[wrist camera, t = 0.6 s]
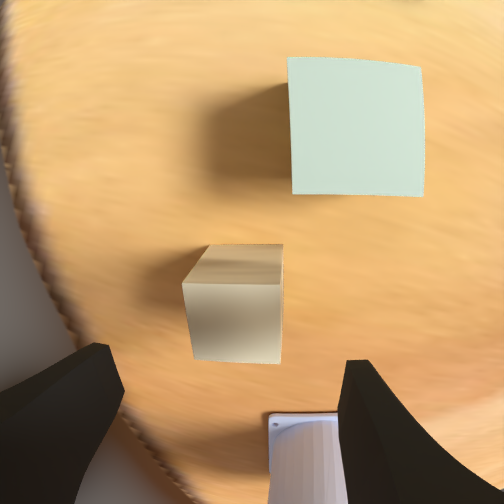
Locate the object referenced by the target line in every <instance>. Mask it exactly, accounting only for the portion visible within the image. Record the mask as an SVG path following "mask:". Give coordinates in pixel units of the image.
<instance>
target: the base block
mask: <svg viewBox="0 0 504 504" xmlns="http://www.w3.org/2000/svg"><path fill="white" fill-rule="evenodd" d="M287 72H288V93H289V114H290V138H291V169H292V193H293V194H346V195H387V196H412V197H423V193H424V171H425V120H424V99H423V85H422V74H421V67H417V66H411V65H405V64H398V63H390V62H382V61H372V60H361V59H348V58H328V57H287Z"/></svg>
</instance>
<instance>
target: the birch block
mask: <svg viewBox="0 0 504 504" xmlns="http://www.w3.org/2000/svg"><path fill="white" fill-rule="evenodd" d="M182 289H183V295H184V302H185V308H186V314H187V321H188V326H189V332H190V338H191V344H192V349H193V354H194V360H206V361H221V362H238V363H263V364H280V361H281V346H282V330H283V313H284V264H283V244H235V245H209V247H208V248H207V249H206V251H205V252H204V254H203V255H202V256H201V258H200V259H199V260H198V262H197V263H196V264H195V266H194V267H193V268H192V270H191V271H190V273H189V274H188V275H187V277H186V278H185V279H184V281H183V282H182Z"/></svg>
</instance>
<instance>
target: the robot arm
mask: <svg viewBox="0 0 504 504" xmlns="http://www.w3.org/2000/svg"><path fill="white" fill-rule="evenodd" d="M124 392H125V390H124V387H123V385H122V382H121V379H120V377H119V374H118V371H117V368H116V365H115V362H114V359H113V356H112V353H111V350H110V347H109V345H106V344H100V343H92V344H90V345H88V346H86V347H84V348H82V349H80V350H78V351H76V352H75V353H73V354H71V355H69V356H68V357H66V358H64V359H62V360H61V361H59V362H57V363H55V364H54V365H52V366H50V367H49V368H47V369H45V370H43V371H42V372H40V373H38V374H36V375H34V376H32V377H30V378H28V379H26V380H25V381H23V382H21V383H19V384H17V385H15V386H13V387H11V388H9V389H6V390H4V391H2V392H0V504H74V502H75V499H76V496H77V493H78V490H79V487H80V484H81V482H82V479H83V476H84V474H85V472H86V470H87V468H88V465H89V463H90V462H91V460H92V458H93V456H94V454H95V452H96V450H97V449H98V447H99V445H100V443H101V442H102V440H103V438H104V436H105V434H106V433H107V431H108V429H109V427H110V425H111V423H112V422H113V420H114V418H115V416H116V414H117V411H118V409H119V406H120V403H121V401H122V398H123V395H124ZM337 410H338V413H316V414H282V413H274V414H271V415H269V418H268V431H269V473H270V474H271V476H270V486H269V495H268V504H504V492H502V491H501V490H499V489H497V488H495V487H494V486H492V485H491V484H489V483H488V482H486V481H485V480H483V479H482V478H480V477H479V476H477V475H476V474H475V473H473V472H472V471H470V470H469V469H467V468H466V467H465V466H464V465H462V464H461V463H460V462H459V461H457V460H456V459H455V458H454V457H453V456H451V455H450V454H449V453H448V452H447V451H446V450H445V449H444V448H442V447H441V446H440V445H439V444H438V443H437V442H436V441H435V440H434V439H433V438H432V437H431V436H430V435H429V434H428V433H427V432H426V430H425V429H424V428H423V427H422V426H421V425H420V424H419V423H418V422H417V421H416V420H415V418H414V417H413V416H412V415H411V414H410V413H409V412H408V410H407V409H406V408H405V407H404V405H403V404H402V403H401V402H400V401H399V400H398V398H397V397H396V396H395V394H394V393H393V392H392V391H391V389H390V388H389V387H388V385H387V384H386V383H385V381H384V380H383V379H382V377H381V376H380V375H379V373H378V372H377V371H376V369H375V368H374V367H373V365H372V364H371V363H370V362H369V360H347V362H346V367H345V373H344V378H343V384H342V389H341V394H340V399H339V404H338V409H337Z"/></svg>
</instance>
